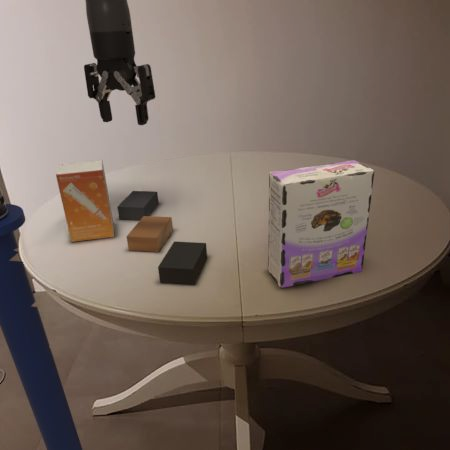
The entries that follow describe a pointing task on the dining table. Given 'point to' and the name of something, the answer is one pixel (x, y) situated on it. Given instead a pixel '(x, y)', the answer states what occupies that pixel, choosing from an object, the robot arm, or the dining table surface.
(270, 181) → the candy box
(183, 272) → the black pad
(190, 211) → the dining table surface
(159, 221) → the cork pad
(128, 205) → the grey pad
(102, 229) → the small box
